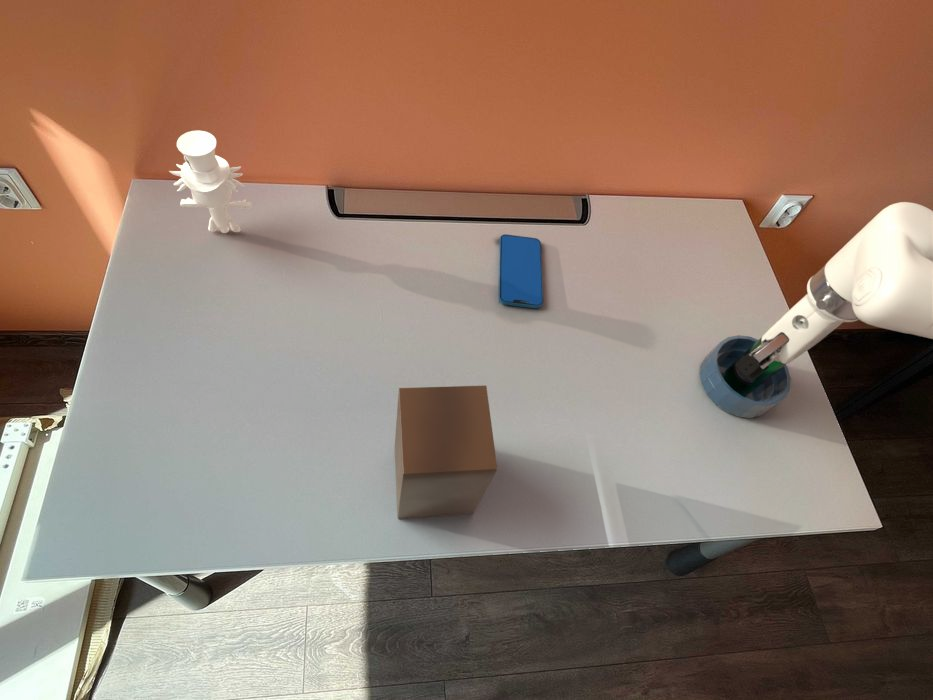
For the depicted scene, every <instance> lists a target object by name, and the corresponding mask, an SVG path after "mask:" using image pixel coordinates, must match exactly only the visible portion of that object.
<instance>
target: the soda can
mask: <svg viewBox="0 0 933 700" xmlns="http://www.w3.org/2000/svg"><path fill="white" fill-rule="evenodd" d="M761 339H762V336H761V337H760V338H758V341H757V342H756V343H755V344H754V345H752V346H751V347H750V348H749V349H748V350H747V351H746V352H745V353H744V354H743V355H742V356H741V357H739V358H738V359H737V360H736V361H735V362H734V363H733V364H732V365H731V366H730V367H729V368H728V369H726V370H725V372H724V375H723V378H724V381H725V382H726V383H727V384H728V385H729V386H730V387H731V388H732V389H733V390H734V391H735V392H737V393H738V394H740V395H747V394H750V393H751V392H752V391H754V390H755V389H756V388H757V387H759V386H760V385H761V384H762V383H764V382H765V381H766V380H767V379H769V378H770V377H771V376H772V375H774V374H775V373H776V372H777V371H779V370H780V369H781V368H782V367H784V366H785V365H786V366H787V364H783V363H782V362H781V361H780V360H779V359H778V358H777V359H776V360H775V361H773V362H772V363H771V364H769V365H768V367H769V368H768V369H767V370H765V371H764V372H763V373H762V374H761V375H759V376H758V377H757V378H756V379H754V380H753V381H750V380H749V379H748V378H747V377H746V376H745V375H744V374H743V373H742V372H741V371H740V370H739V369H738V368H737V366H736V364H737V363H738V362H739V361H741V360H742V359H743V358H744V357H745V356H746V355H747V354H748V353H749V352H750V351H752V350H755V349H756V348H757V347H758V346H760V345H761V344H762V343H763V342H762V341H761ZM772 340H774V339H772ZM772 340H771V341H772ZM771 341H770V342H771ZM781 348H782V346H781V347H780V348H778V350H779V351H781ZM773 356H774V354H773V353H772V354H770V355H769V356H768V357H767V358H766V360H767V361H768V360H769V359H770V358H771V357H773Z"/></svg>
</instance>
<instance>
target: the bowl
mask: <svg viewBox="0 0 933 700" xmlns="http://www.w3.org/2000/svg"><path fill="white" fill-rule="evenodd" d="M758 340H759V338H755V337H752V336H750V335H749V336H748V335H732V336H727V337H726V338H724V339H723V340H721V341H720V342H718V344H716V346H715V347H713V348H712V350H711V351H710V352H709V353H708V354H706V356H705V357H704V359H702V362H701V364H700V368H699V378H700V383H701V385H702V388H703V389H704V392H705V393H706V395H707V397H708V398H709V399H710V400H711V401H712V402H713V403H714V404H715V405H716V406H717V407H719V408H720V409H721V410H723V411H725V412H726V413H728V414H731V415H733V416H735V417H739V418H749V419H752V418H756V417H761V416H763V415H764V414H765V413H767V412H768V411H769V410H771V409H773V408H774V407H775V406H777V405H778V404H779V403H780V402H782V401H783V400H785V399H786V398H787V396H788V394H789V392H790V391H791V381H792V378H791V374H790V371H789V368H788V365H787V364H786V365H785V366H784V367H782V368H781V369H780V370H779V371H777V372H776V373H775V374H774V375H772V376H771V377H770V378H769V379H767V380H766V381H765V382H764V383H762V384H761V385H760V386H759V387H757V388H756V389H755V390H754V391H752V392H751V393H750V394H747V395H740V394H738V393H737V392H735V391H734V390H733V389H732V388H731V387H730V386H729V385H728V384H727V383H726V382H725V381H724V378H723V375H724V372H725V370H726V369H728V368H729V367H730V366H731V365H732V364H733V363H734V362H735V361H736V360H737V359H738V358H739V357H741V356H742V355H743V354H744V353H745V352H746V351H747V350H748V349H749V348H750V347H751V346H752V345H754V344H755V343H756V342H757V341H758Z"/></svg>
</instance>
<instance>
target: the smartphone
mask: <svg viewBox="0 0 933 700" xmlns="http://www.w3.org/2000/svg"><path fill="white" fill-rule="evenodd" d="M498 253H499V254H498V255H499V261H498V262H499V263H498V301H499V303H500V304H501V305H504V306H512V307H520V308H521V307H522V308H530V309H540V308H542V306H543V304H544V290H543V288H544V287H543V266H542V265H543V261H542V260H543V259H542V241H541V240H540V239H539V238H537V237H530V236H521V235H513V234H506V233H505V234H502V235H500V237H499V252H498Z"/></svg>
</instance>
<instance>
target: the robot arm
mask: <svg viewBox="0 0 933 700" xmlns="http://www.w3.org/2000/svg"><path fill="white" fill-rule="evenodd" d="M806 291H807V293H806V294H805V295H804V296H803V297H802V298H800V300H798V301H797V302H796V303H795V304H794V305H793V306H792V307H790V309H789V310H788V311H787V312H785V314H783V315H782V316H781V317H780V318H779V319H778V320H777V321H776V322H775V323H774V324H773V325H772V326H771V327H770V328H769V329H768V330H767V331H766V332H765V333H764V334H763V335H762V336H761V337H762V339H761V341H762V342H763V343H762V344H761V345H760V346H758V347H757V348H756V349H755V350H752V351H750V352H749V353H748V354H747V355H746V356H745V357H744V358H743V359H742V360H741V361H739V362H738V363H737V364H736V366H737V368H738V369H739V370H740V371H741V372H742V373H743V374H744V375H745V376H746V377H747V378H748V379H749V380H750V381H753V380H754V379H756V378H757V377H758V376H759V375H761V374H762V373H763V372H764V371H765V370H767V369H768V368H769V367H768V365H769V364H771V363H772V362H773V361H775V360H776V359H777V358H778V359H779V360H780V361H781V362H782V363H783V364H786V365H787V364H790V363H791V362H793V361H795V360H796V359H797V358H799V357H800V356H802V355H803V354H805V353H806V352H808V351H809V350H810V349H812V348H813V347H815V346H816V345H817V344H818V343H820V342H821V341H822V340H824V339H825V338H826V337H827V336H828V335H829V334H831V333H832V332H833V331H835V330H836V329H837V328H838V327H839V326H841V325H842V324H843V323H854V322H857V321H860V322H863V323H864V324H867V325H868V326H871V327H872V326H873V327H875V328H880V329H884V330H890V331H893V332H897V333H902V334H908V335H914V336H917V337H923V338H927V339H930V340H933V210H932V209H930V208H928V207H926V206H924V205H922V204H919V203H916V202H908V201H900V202H896V203H892V204H890V205H888V206H886V207H885V208H883V209H882V210H881V211H879V213H877V214H876V215H875V216H874V217H873V218H872V219H871V220H870V221H869V222H867V224H865V226H863V228H861V229H860V230H859V231H858V232H857V233H856V234H855V235H854V236H853V237H852V238H851V239H850V240H849V241H848V242H847V243H846V244H845V245H844V246H842V248H841V249H839V251H838V252H836V253H835V254H834V255H833V256H832V257H831V258H830V259H829V260H828V261H827V262H826V263H825V264H823V266H822V267H820V269H819V270H818V271H816V273H814V274H813V275H812V276H810V278H809V279H808V281H807V285H806ZM772 339H774V340H772ZM771 340H772V341H771ZM770 341H771V342H770ZM781 346H782V348H781V351H779V350H778V348H780V347H781ZM772 353H773V354H774V356H773V357H771V358H770V359H769V360H768V361H767V360H766V358H767V357H768V356H769V355H770V354H772Z"/></svg>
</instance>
